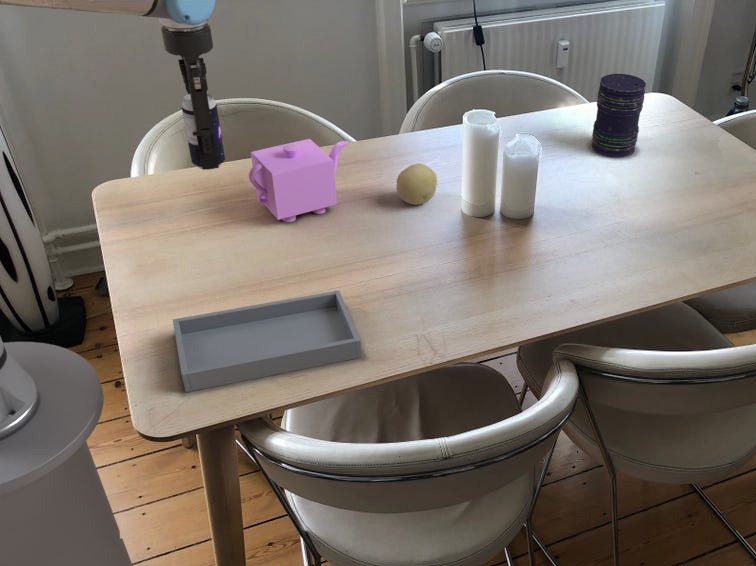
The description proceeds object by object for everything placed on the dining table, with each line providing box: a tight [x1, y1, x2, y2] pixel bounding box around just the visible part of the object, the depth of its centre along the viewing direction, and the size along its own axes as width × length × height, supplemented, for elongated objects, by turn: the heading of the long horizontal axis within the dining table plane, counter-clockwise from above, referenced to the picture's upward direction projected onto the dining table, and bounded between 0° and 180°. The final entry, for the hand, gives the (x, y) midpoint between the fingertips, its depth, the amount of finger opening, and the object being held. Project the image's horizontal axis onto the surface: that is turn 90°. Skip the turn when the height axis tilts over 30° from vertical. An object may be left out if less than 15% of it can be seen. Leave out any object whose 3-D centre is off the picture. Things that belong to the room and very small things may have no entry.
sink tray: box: [172, 290, 362, 393], centre depth 126 cm, size 26×14×3 cm, turn 111°
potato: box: [395, 163, 438, 205], centre depth 160 cm, size 8×8×8 cm
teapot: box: [248, 138, 350, 223], centre depth 156 cm, size 20×10×12 cm, turn 123°
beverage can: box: [181, 93, 226, 171], centre depth 143 cm, size 6×6×12 cm
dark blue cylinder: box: [590, 73, 647, 159], centre depth 180 cm, size 10×10×15 cm
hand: (208, 159), depth 146 cm, fingers closed on beverage can, 6 cm apart
